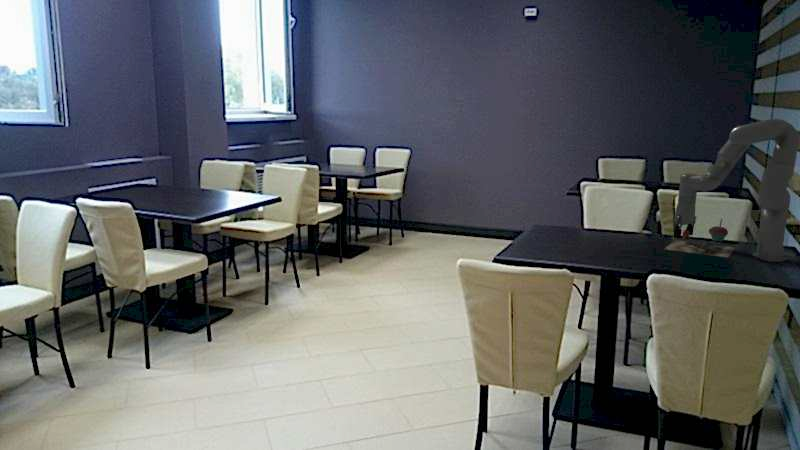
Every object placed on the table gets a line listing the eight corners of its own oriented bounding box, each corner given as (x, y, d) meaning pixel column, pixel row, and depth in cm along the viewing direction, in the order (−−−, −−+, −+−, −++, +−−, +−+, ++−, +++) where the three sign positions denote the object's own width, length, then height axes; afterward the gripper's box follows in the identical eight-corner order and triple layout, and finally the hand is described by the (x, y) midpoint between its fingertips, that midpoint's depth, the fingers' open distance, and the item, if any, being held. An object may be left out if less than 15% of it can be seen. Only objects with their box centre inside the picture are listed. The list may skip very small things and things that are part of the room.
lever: (723, 251, 269) (724, 238, 268) (714, 252, 268) (715, 239, 267) (687, 241, 290) (688, 229, 289) (678, 242, 289) (679, 229, 288)
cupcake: (730, 242, 295) (733, 218, 293) (712, 242, 295) (715, 218, 293) (721, 239, 304) (724, 215, 301) (704, 238, 304) (707, 215, 301)
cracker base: (735, 250, 279) (736, 242, 279) (727, 260, 260) (728, 252, 259) (674, 242, 294) (675, 235, 293) (663, 251, 275) (664, 244, 274)
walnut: (710, 251, 270) (711, 243, 269) (709, 253, 266) (710, 244, 266) (701, 250, 272) (702, 242, 271) (699, 252, 269) (700, 243, 268)
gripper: (689, 197, 291) (686, 232, 294) (668, 200, 282) (665, 236, 285) (704, 199, 285) (701, 235, 288) (684, 202, 275) (680, 239, 279)
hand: (683, 236), depth 286 cm, fingers open, 9 cm apart
